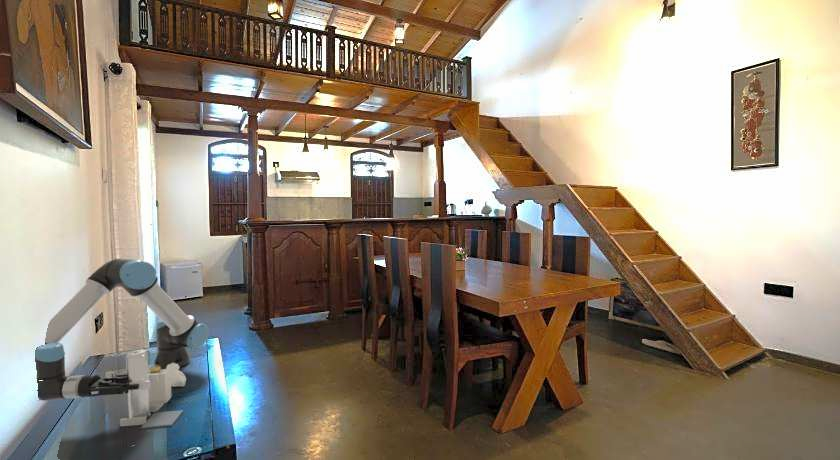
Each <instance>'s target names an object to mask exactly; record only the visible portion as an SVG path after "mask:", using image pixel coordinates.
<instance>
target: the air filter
mask: <svg viewBox="0 0 840 460" xmlns="http://www.w3.org/2000/svg"><path fill="white" fill-rule="evenodd" d="M125 362H126V363H125V365H126V367H125V368H126V373H127V384H128V385H129V383H130V382H139V381H149V371H148V370H149V356H148V352H147V350H145V349H134V350H131V351H128V352H127V353H126V356H125ZM127 405H128V418H133V417H145V416H146V420H148V419H149V418H150V417H151V416H152V414H151V413H152V412H150V392H149V389H140V390H129V393H127Z"/></svg>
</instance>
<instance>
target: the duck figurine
mask: <svg viewBox="0 0 840 460" xmlns="http://www.w3.org/2000/svg"><path fill="white" fill-rule="evenodd" d="M180 368H181V367H179V365H178V364H176V363H171V364H169V365H167V367H166V369H170V372H171V388H176V387H181V388H183V387H185V385H186V381H187V377H186V375H185V374H184V373H183V371H181V370H179V369H180Z"/></svg>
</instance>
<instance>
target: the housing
mask: <svg viewBox="0 0 840 460" xmlns="http://www.w3.org/2000/svg"><path fill="white" fill-rule="evenodd" d="M148 371H149V374H157V373H158V381H154V382H150V389H149V392H150V413H156V412H159V410H160V409H161V408H162V406H163V405H165V404H167V403H168V402H169V401H170V399H171V398H172V386H171V372H170V369H161V370H160V371H159V372H157V373H150V369H148ZM146 421H147V419H146V416H145V417H133V418H129V417H126V418H121V419H119V423H120V426H121V427H129V426H140V425H143V424H144V423H145V422H146ZM120 426H119V427H120Z"/></svg>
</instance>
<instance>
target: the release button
mask: <svg viewBox="0 0 840 460" xmlns="http://www.w3.org/2000/svg"><path fill="white" fill-rule="evenodd" d="M149 370H150V373H157V372H159V371H160V370H161V367H160V366H159V365H157V366H154V365H152V366H150V367H149Z"/></svg>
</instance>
